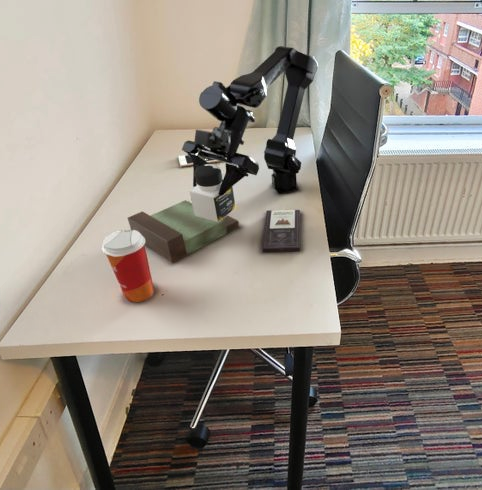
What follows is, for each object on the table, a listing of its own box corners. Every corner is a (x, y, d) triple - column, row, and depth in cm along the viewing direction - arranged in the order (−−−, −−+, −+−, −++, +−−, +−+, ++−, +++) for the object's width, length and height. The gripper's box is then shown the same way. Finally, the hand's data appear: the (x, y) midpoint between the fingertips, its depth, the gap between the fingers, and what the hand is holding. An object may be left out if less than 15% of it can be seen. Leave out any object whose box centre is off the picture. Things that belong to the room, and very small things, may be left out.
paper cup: (127, 282, 96) (108, 228, 88) (163, 281, 96) (148, 227, 88) (114, 307, 89) (93, 251, 81) (153, 305, 90) (136, 250, 82)
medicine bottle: (218, 223, 104) (210, 177, 97) (194, 216, 106) (184, 171, 99) (236, 209, 109) (229, 164, 102) (212, 202, 111) (204, 158, 104)
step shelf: (200, 207, 123) (196, 188, 119) (239, 227, 115) (236, 207, 112) (133, 238, 109) (127, 217, 106) (172, 263, 102) (167, 241, 98)
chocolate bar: (262, 248, 106) (266, 210, 120) (262, 252, 106) (266, 213, 121) (299, 247, 106) (299, 209, 121) (300, 250, 107) (299, 212, 122)
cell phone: (178, 157, 148) (178, 155, 148) (226, 151, 154) (226, 149, 154) (180, 167, 143) (180, 165, 142) (231, 160, 148) (230, 158, 148)
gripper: (179, 106, 100) (152, 169, 98) (245, 121, 93) (218, 189, 92) (208, 128, 110) (185, 186, 109) (270, 143, 104) (246, 205, 102)
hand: (207, 191), depth 103 cm, fingers closed on medicine bottle, 7 cm apart
